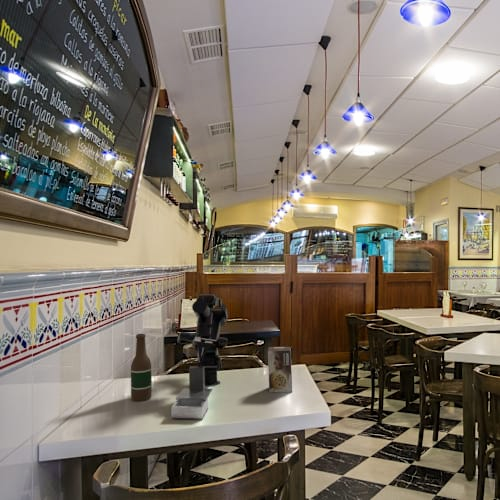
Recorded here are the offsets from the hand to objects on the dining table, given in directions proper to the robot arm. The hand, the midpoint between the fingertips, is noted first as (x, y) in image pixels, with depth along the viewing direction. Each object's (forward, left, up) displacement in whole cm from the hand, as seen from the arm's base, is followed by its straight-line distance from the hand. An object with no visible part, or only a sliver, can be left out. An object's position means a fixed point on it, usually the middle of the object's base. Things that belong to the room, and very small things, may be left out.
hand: (200, 362), depth 140 cm
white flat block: (+13, -9, -13) cm, 20 cm away
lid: (+8, -5, -9) cm, 13 cm away
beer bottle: (-12, -19, -13) cm, 26 cm away
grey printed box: (+9, +30, -13) cm, 34 cm away
